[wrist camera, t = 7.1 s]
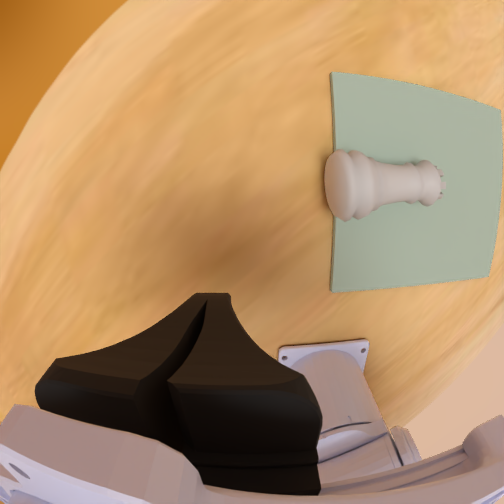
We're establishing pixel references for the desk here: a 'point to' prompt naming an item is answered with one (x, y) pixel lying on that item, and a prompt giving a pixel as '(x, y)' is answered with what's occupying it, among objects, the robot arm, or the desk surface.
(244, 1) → the desk surface
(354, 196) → the rook chess piece
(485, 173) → the mat
